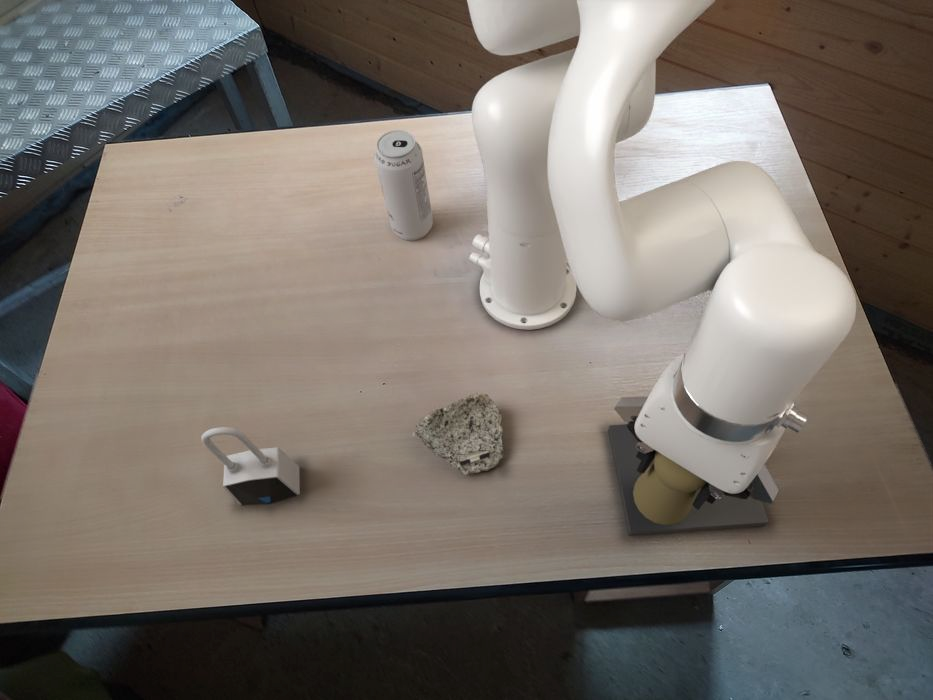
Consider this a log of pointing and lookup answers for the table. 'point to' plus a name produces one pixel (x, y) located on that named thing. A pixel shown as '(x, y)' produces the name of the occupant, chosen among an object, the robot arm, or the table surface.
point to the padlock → (255, 471)
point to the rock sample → (465, 434)
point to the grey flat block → (706, 518)
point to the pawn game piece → (666, 491)
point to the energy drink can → (404, 184)
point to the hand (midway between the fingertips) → (674, 477)
